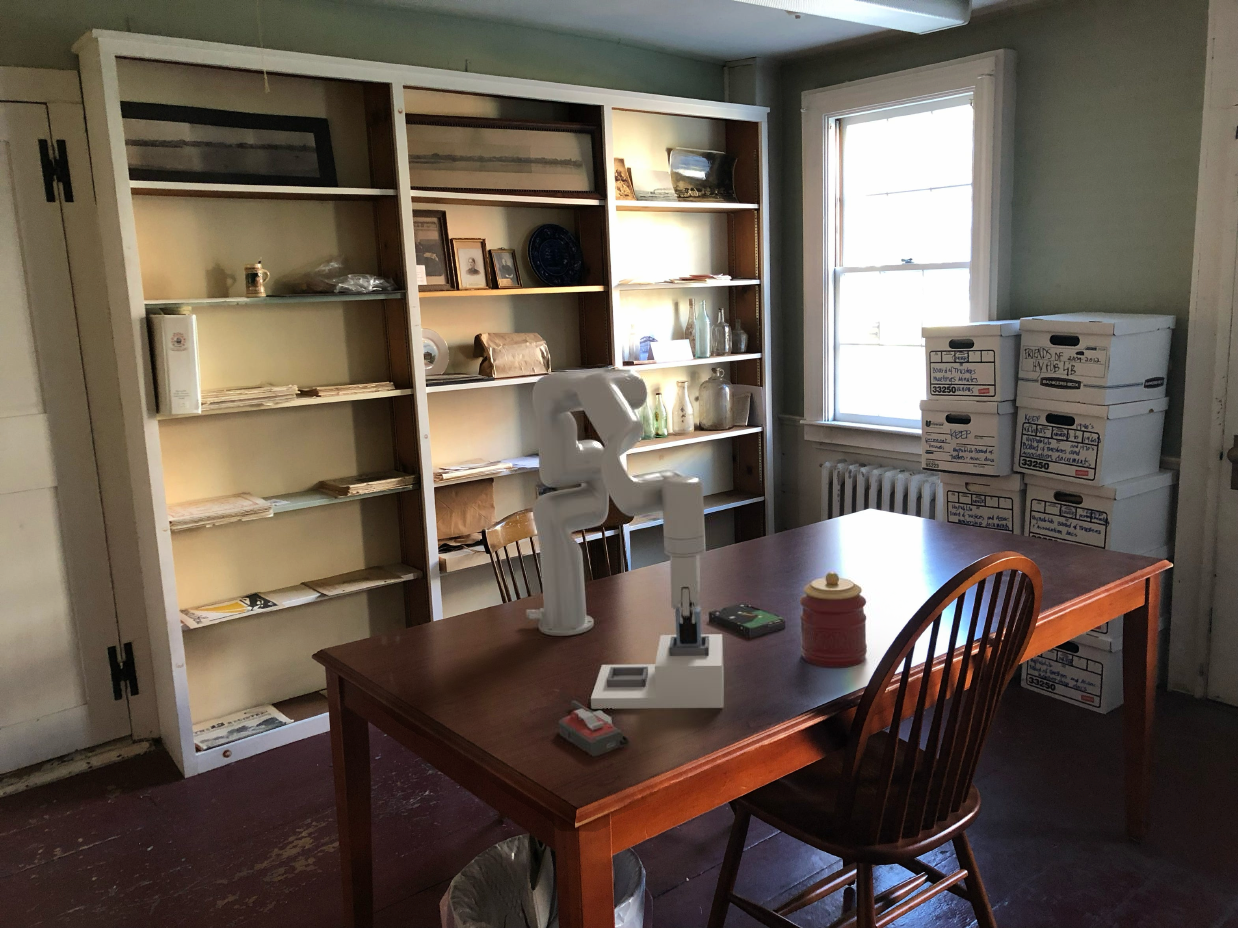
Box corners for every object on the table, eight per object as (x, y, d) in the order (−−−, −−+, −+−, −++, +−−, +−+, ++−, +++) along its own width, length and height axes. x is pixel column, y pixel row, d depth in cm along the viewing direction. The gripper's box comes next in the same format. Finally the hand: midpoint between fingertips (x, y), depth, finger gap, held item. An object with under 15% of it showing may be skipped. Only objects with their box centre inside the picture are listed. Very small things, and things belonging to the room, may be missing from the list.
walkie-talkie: (640, 745, 161) (577, 707, 178) (638, 721, 161) (576, 684, 177) (596, 762, 157) (536, 721, 173) (594, 736, 156) (534, 698, 172)
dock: (591, 708, 176) (588, 659, 175) (602, 674, 192) (599, 628, 190) (723, 707, 173) (721, 657, 172) (723, 672, 189) (721, 626, 187)
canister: (788, 651, 198) (786, 569, 195) (843, 640, 202) (841, 559, 199) (823, 673, 186) (821, 585, 183) (880, 661, 190) (879, 575, 187)
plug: (677, 653, 179) (675, 612, 178) (678, 646, 182) (676, 605, 181) (701, 652, 178) (699, 611, 177) (702, 646, 182) (700, 605, 181)
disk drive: (707, 623, 219) (751, 640, 207) (707, 612, 219) (750, 627, 207) (742, 613, 225) (786, 628, 213) (742, 602, 224) (786, 616, 212)
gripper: (667, 533, 185) (671, 624, 189) (661, 556, 169) (666, 655, 172) (706, 532, 185) (710, 623, 188) (704, 555, 168) (708, 655, 172)
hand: (689, 638), depth 180 cm, fingers closed on plug, 3 cm apart
